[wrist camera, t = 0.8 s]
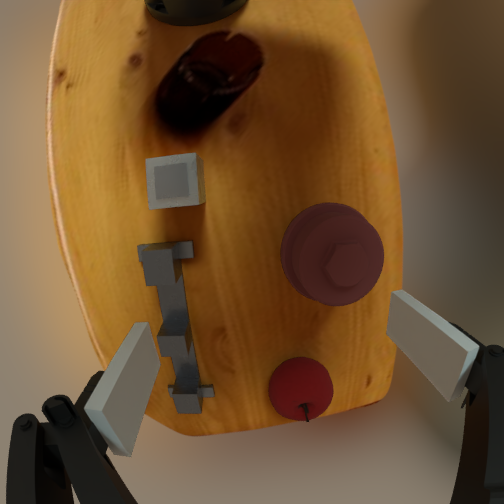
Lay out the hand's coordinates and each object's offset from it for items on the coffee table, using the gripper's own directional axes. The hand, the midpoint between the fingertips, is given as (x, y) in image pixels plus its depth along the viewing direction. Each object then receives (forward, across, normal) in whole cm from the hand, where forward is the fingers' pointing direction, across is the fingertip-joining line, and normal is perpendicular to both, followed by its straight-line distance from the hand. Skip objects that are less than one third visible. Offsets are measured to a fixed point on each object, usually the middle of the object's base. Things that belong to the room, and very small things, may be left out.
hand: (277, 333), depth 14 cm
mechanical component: (+21, +8, 0) cm, 22 cm away
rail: (+21, -11, -10) cm, 26 cm away
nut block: (+21, -7, +8) cm, 24 cm away
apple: (+21, +5, -20) cm, 29 cm away
